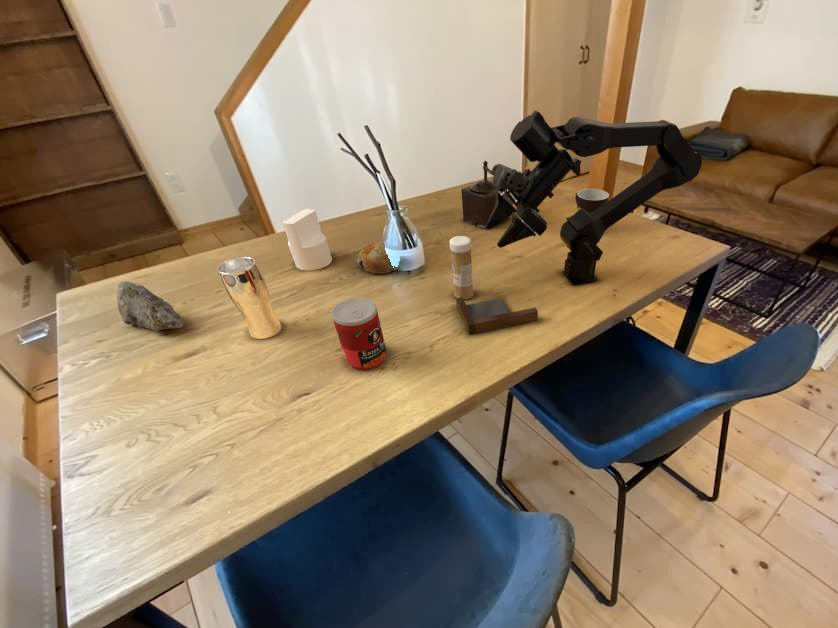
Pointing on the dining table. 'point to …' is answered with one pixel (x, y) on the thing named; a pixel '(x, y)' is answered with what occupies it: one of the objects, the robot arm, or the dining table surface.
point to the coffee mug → (591, 199)
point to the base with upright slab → (307, 241)
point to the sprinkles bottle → (462, 266)
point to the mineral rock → (145, 308)
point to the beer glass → (249, 295)
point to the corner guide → (492, 315)
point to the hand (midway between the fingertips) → (492, 236)
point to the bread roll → (375, 259)
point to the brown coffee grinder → (480, 199)
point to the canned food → (360, 333)
